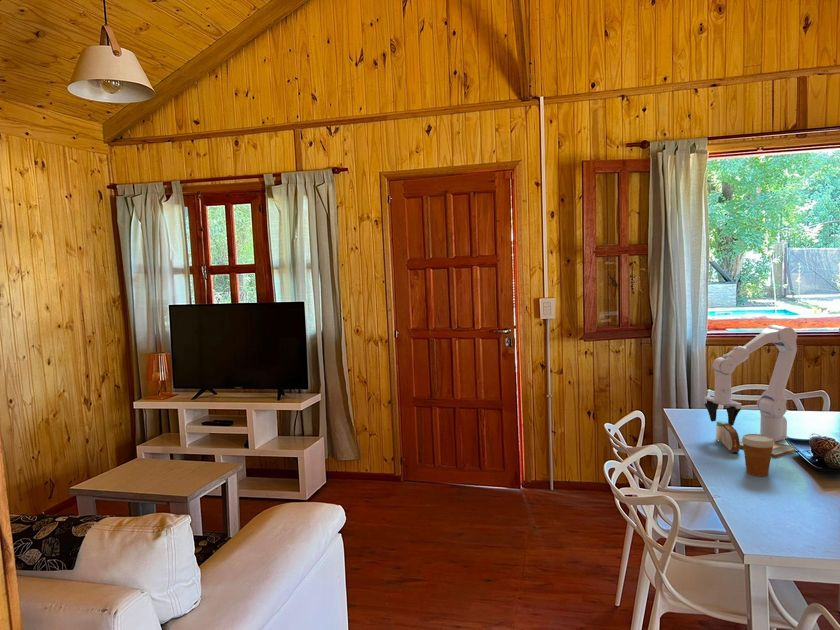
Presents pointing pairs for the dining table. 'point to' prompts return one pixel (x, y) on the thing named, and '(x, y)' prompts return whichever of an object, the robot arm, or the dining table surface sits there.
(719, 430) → the beige cylinder
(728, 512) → the dining table surface
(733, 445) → the tin
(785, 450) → the slate board
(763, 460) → the disposable coffee cup
